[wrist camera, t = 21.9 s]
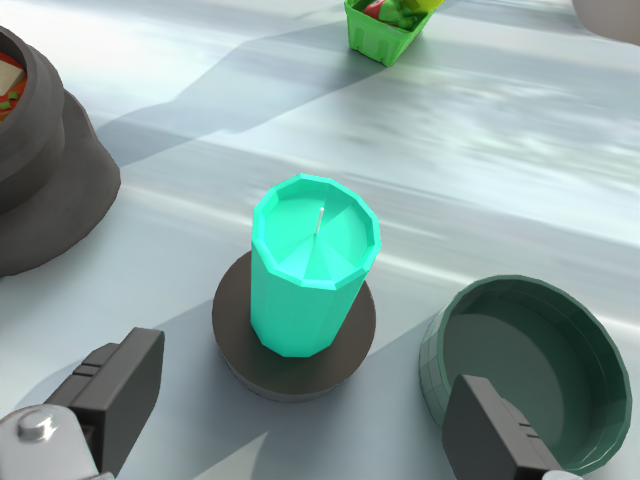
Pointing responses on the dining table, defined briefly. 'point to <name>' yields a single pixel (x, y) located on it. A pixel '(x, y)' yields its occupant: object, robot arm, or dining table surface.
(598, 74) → the dining table surface
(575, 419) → the tin
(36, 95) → the casserole
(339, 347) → the stand
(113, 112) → the dining table surface
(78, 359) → the dining table surface
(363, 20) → the fruit basket
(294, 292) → the candle
